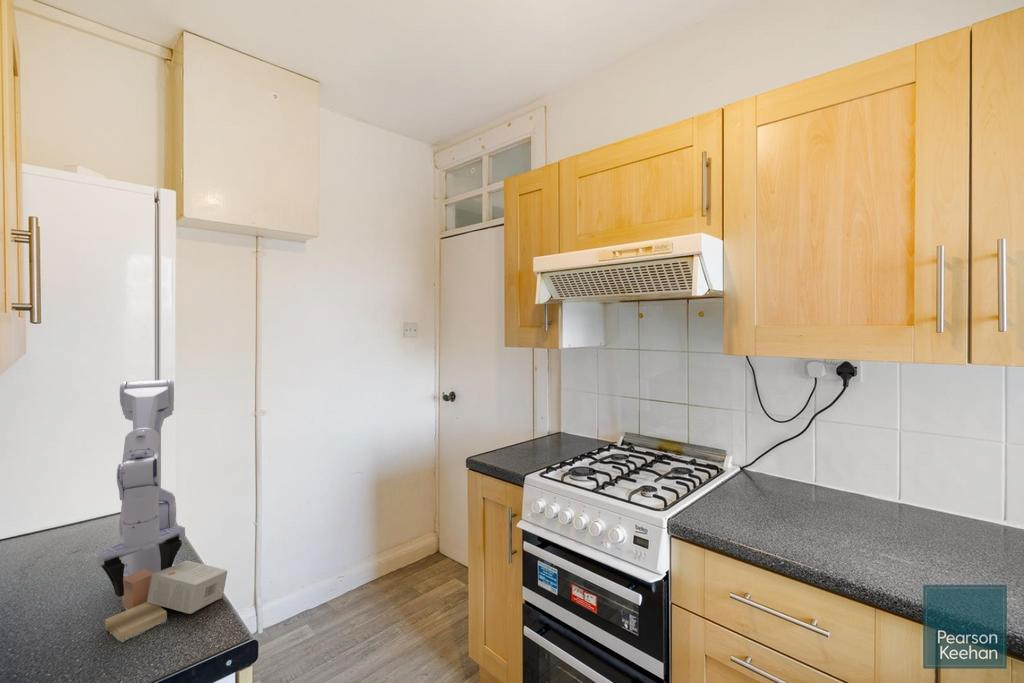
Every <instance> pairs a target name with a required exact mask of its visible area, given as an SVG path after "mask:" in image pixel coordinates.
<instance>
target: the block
mask: <svg viewBox="0 0 1024 683" xmlns="http://www.w3.org/2000/svg"><path fill="white" fill-rule="evenodd" d="M152 574H153V572H151V571H148V570H146V569H143V570H141V571H139V572H136V573H134V574H131V575H129V576H127V577H124V576H123V584H124V595H123V596H121V599H122V600H121V604H122V606H123V607H125V608H127V609H131V608H133V607H135V606H137V605H140V604H142V603H144V602H147V598H148V593H149V587H150V582H151V576H152ZM122 606H121V607H122Z"/></svg>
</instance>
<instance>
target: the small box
mask: <svg viewBox="0 0 1024 683" xmlns="http://www.w3.org/2000/svg"><path fill="white" fill-rule="evenodd" d="M174 565H175V566H172V567H169V568H167V569H164V570H161V571H159V572H155V573H153V574H152V576H151V582H150V587H149V593H148V598H147V602H148V603H151V604H155V605H158V606H160V607H161V608H162V607H163V608H166V609H171V610H174V611H178V612H182V613H185V614H189V615H191V614H193V613H195V612H197V611H199V610H200V609H202V608H204V607H206V606H208V605H210V604H212V603H214V602H216V601H218V600H220V599H222V598H223V597H222V595H223V596H224V592H225V588H226V587H225V586H226V583H227V582H226V581H227V575H228V570H227V569H224V568H220V567H216V566H211V565H208V564H205V563H204V564H203V563H199V562H196V561H191V560H188V559H187V560H185V561H181V562H180V563H176V564H174ZM219 588H220V589H221V590H220V589H219ZM221 591H222V592H223V594H222V592H221Z"/></svg>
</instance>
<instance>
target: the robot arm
mask: <svg viewBox="0 0 1024 683" xmlns="http://www.w3.org/2000/svg"><path fill="white" fill-rule="evenodd" d="M174 402H175V384H174V381H173V379H171V378H168V379H157V380H156V379H154V380H141V381H140V380H139V381H126V380H125V381H123V382H122V383H121V384H120V385H119V403H120V407H121V410H122V415H123V416H124V418H125V419H126V420H128V421H132V431H130V432H128V433H127V434H126V436H125V439H124V446H123V454H122V462H121V463H118V465H117V468H116V483H117V484H116V486H117V488H118V491H119V492H118V495H119V500H120V501H121V506H120V508H121V509H120V513H119V523H118V524H119V526H118V528H119V529H118V530H119V536H120V537H121V538H122V542H119V543H117V544H115V545H113V546H111V547H110V546H109V547H108V548H106V549H104V550H101V551H99V552H96V553H93V554H92V558H93V559H92V561H93V562H92V563H93V565H94V566H95V567H97V568H99V567H101V568H102V569H103V571H104V572H105V573H106V575H107V577H108V578H109V580H110V582H111V584H112V587H113V590H114V595H115V596H117V597H118V598H122V596H123V595H124V584H123V578H124V577H127V576H129V575H131V574H134V573H136V572H139V571H141V570H143V569H146V570H148V571H151V572H153V573H155V572H159V571H161V570H164V569H167V568H169V567H172V566H175V565H176V564H174V562H175V558H176V556H177V554H178V552H179V551H180V549H181V547H182V545H183V544H182V543H183V542H182V541H183V540H181V538H184V537H186V527H184V526H182V525H179V526H176V525H177V503H176V496H175V494H174V493H172V492H171V491H169V490H166V489H165V488H162V480H161V479H162V475H161V474H162V458H161V457H162V428H163V427H162V426H163V423H164V420H165V419H166V418H168V417H171V416H172V415H173V414H174V413H173V411H174V410H175V406H174V405H175V403H174ZM123 557H124V563H123V562H122V559H120V558H123Z"/></svg>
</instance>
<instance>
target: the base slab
mask: <svg viewBox="0 0 1024 683" xmlns="http://www.w3.org/2000/svg"><path fill="white" fill-rule="evenodd" d="M166 619H167V620H168V612H167V610H165V609H164V607H163V608H162V606H159V605H155V604H151V603H148V602H144V603H142V604H140V605H137V606H135V607H133V608H131V609H128V610H124V611H122V612H119V613H117V614H114V615H113V616H112V615H111V616H110V617H107V618H105V620H104V624H105V627H104V628H105V630H106V629H107V630H108V631H109V632H111V633H112V634H113V635H114V636H115V637H117V638H118V639H119V640H121V641H122V640H124V639H126V638H128V637H131V636H133V635H135V634H137V633H139V632H141V631H143V630H145V629H148V628H150V627H152V626H154V625H156V624H158V623H160V622H162V621H164V620H166Z"/></svg>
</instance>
